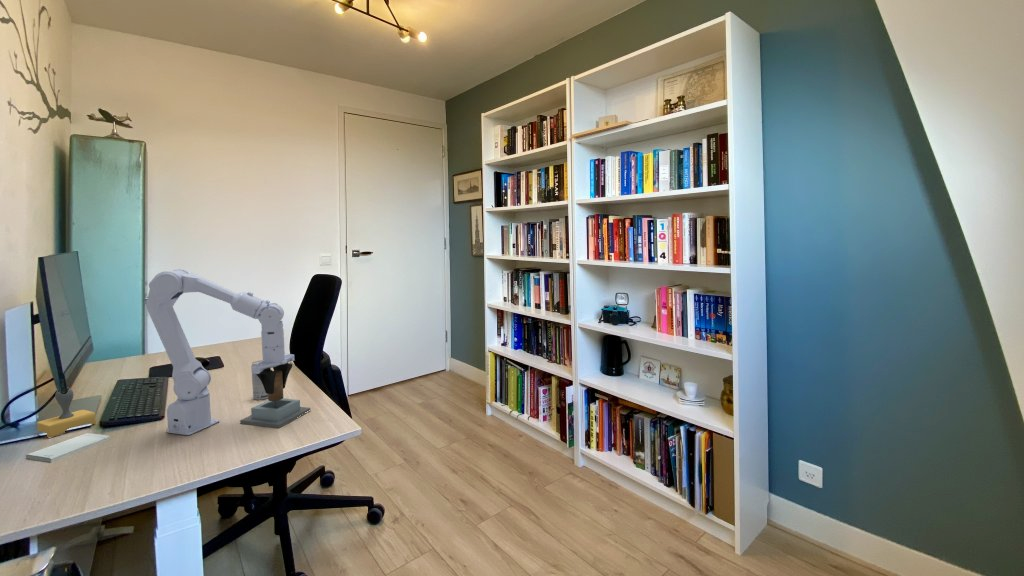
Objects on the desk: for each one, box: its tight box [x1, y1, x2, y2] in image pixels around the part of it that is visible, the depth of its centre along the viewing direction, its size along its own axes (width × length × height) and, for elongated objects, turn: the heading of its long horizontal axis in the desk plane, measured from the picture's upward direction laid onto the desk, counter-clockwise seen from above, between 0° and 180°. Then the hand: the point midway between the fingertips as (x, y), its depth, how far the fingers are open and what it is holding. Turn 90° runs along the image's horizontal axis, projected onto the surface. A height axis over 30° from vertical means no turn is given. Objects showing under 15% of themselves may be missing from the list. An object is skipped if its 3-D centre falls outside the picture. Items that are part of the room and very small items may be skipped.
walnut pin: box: [267, 370, 284, 401], centre depth 128 cm, size 4×4×8 cm
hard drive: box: [25, 432, 111, 463], centre depth 109 cm, size 2×8×12 cm
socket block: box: [239, 397, 311, 429], centre depth 129 cm, size 13×13×4 cm
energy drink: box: [250, 359, 268, 401], centre depth 145 cm, size 5×5×12 cm
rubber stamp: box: [36, 387, 97, 438], centre depth 119 cm, size 10×6×12 cm, turn 159°
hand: (275, 390), depth 129 cm, fingers closed on walnut pin, 4 cm apart
